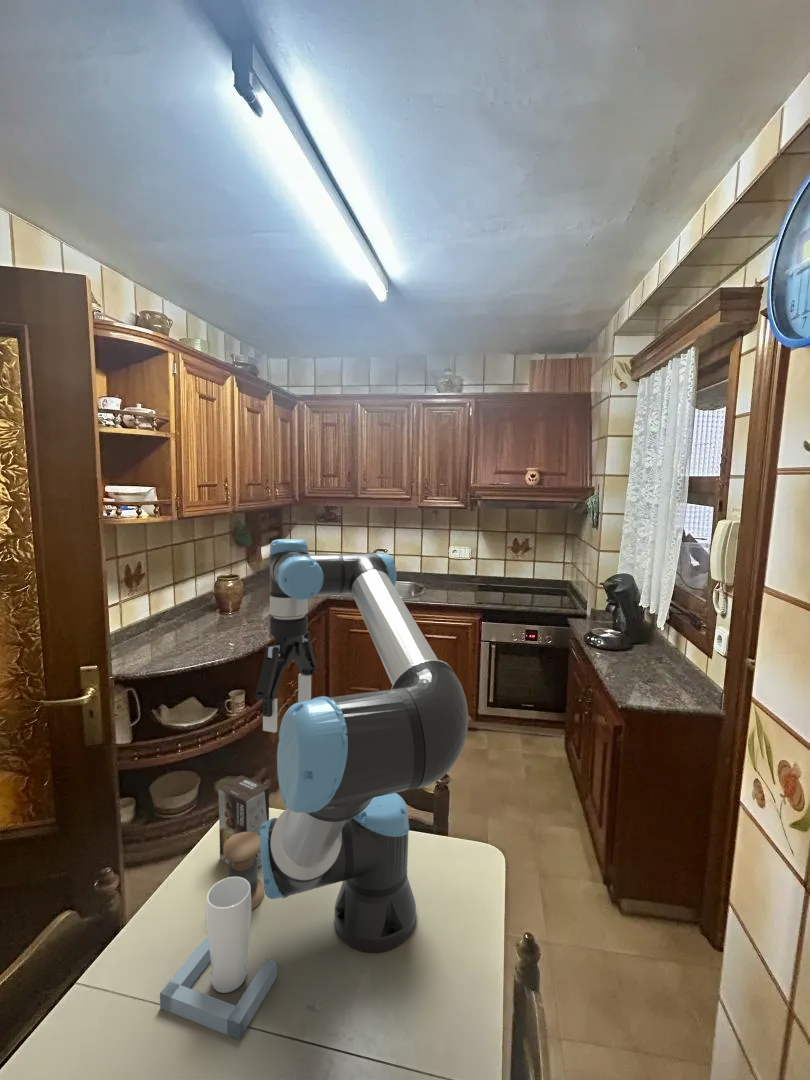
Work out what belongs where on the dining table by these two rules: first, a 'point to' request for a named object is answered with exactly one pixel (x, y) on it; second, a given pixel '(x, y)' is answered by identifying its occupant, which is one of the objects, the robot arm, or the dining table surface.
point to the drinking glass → (228, 932)
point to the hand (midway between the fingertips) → (288, 716)
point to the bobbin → (245, 862)
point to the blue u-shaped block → (209, 1008)
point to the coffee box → (242, 810)
